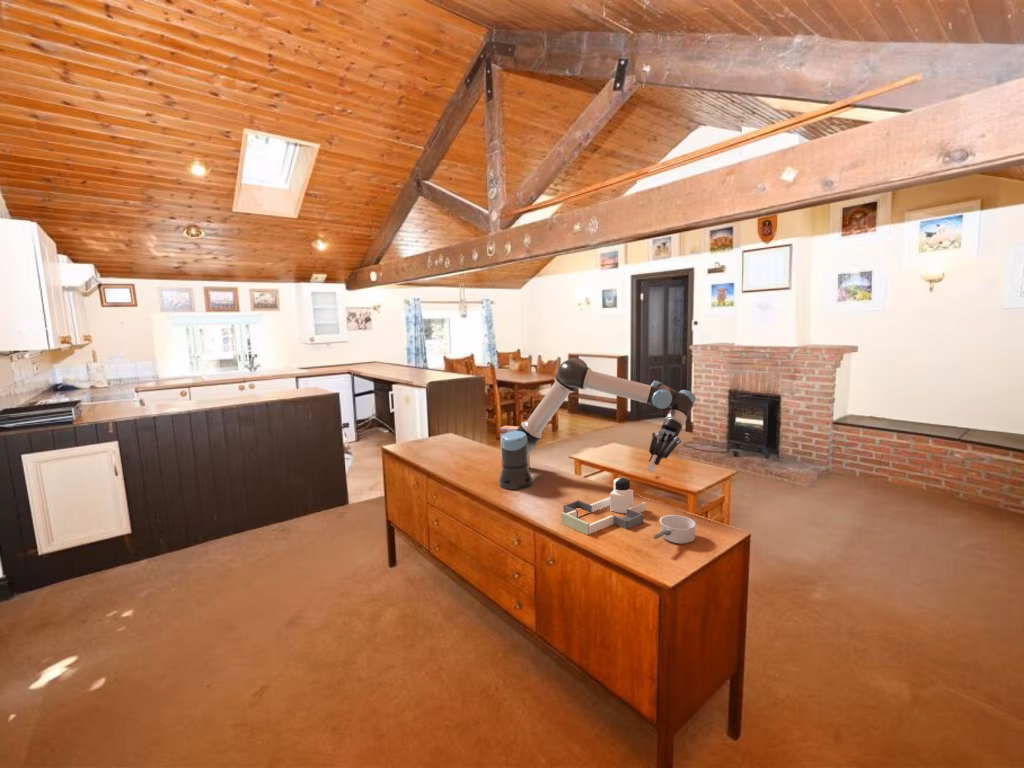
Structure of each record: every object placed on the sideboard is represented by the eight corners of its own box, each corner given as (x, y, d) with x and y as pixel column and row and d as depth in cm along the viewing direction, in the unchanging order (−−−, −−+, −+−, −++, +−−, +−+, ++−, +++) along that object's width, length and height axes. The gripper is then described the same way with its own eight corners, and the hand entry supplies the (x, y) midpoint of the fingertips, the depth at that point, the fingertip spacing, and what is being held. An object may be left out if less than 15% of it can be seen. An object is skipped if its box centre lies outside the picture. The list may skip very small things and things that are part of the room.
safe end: (563, 522, 167) (562, 511, 167) (589, 534, 157) (589, 523, 156) (561, 523, 167) (560, 512, 166) (587, 535, 156) (587, 524, 156)
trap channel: (607, 496, 190) (607, 489, 190) (659, 514, 171) (659, 507, 170) (551, 517, 172) (551, 509, 172) (602, 540, 152) (602, 531, 152)
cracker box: (530, 467, 235) (529, 426, 232) (524, 470, 230) (523, 429, 227) (507, 463, 242) (505, 424, 239) (501, 466, 237) (499, 427, 234)
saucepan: (638, 547, 147) (638, 530, 146) (670, 527, 160) (670, 512, 160) (672, 559, 139) (672, 542, 138) (702, 537, 152) (702, 521, 151)
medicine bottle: (633, 507, 178) (633, 477, 177) (628, 514, 172) (628, 483, 171) (615, 504, 182) (615, 475, 180) (609, 511, 176) (609, 481, 174)
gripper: (691, 430, 190) (667, 478, 182) (664, 426, 200) (640, 471, 192) (684, 419, 186) (659, 468, 178) (656, 415, 196) (632, 461, 188)
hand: (649, 470), depth 185 cm, fingers closed
